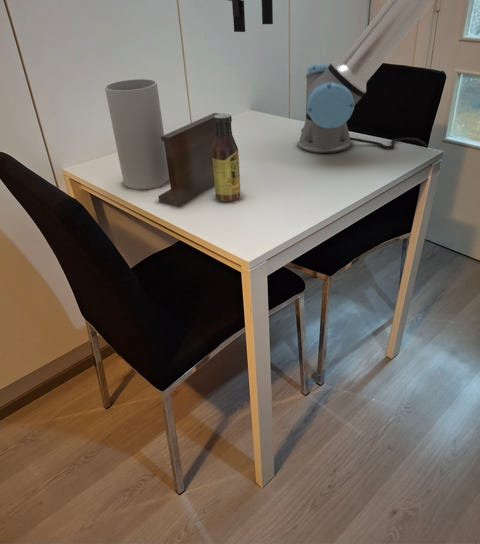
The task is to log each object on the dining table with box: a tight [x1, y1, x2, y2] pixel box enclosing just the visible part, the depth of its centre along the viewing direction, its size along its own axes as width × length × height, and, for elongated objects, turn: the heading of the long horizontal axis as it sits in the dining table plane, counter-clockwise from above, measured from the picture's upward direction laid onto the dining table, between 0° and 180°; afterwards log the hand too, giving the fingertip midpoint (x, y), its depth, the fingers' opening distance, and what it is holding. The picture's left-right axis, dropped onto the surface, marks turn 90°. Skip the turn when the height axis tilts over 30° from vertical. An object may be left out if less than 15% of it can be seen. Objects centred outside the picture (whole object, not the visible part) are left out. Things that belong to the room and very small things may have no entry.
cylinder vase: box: [104, 78, 170, 190], centre depth 125 cm, size 12×12×25 cm
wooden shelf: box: [157, 112, 221, 208], centre depth 120 cm, size 6×21×17 cm, turn 147°
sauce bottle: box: [212, 113, 241, 202], centre depth 114 cm, size 7×6×20 cm
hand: (254, 28), depth 120 cm, fingers open, 13 cm apart
